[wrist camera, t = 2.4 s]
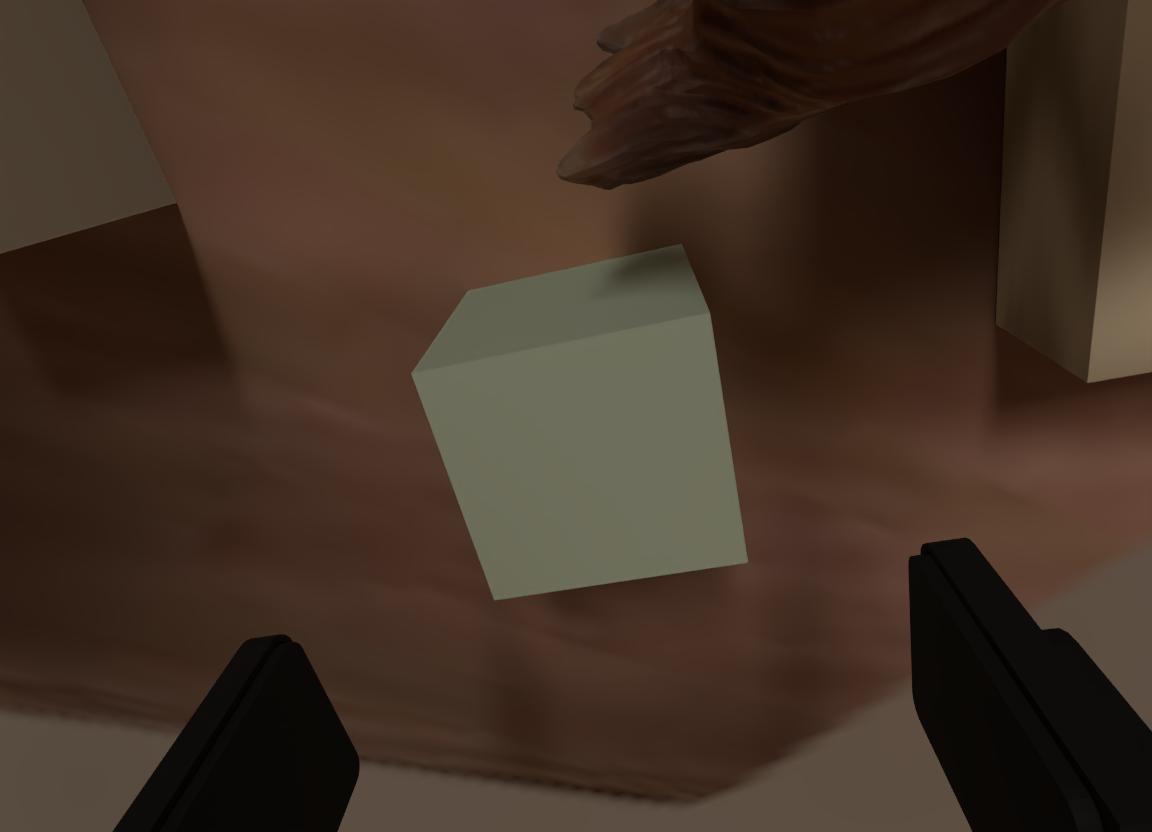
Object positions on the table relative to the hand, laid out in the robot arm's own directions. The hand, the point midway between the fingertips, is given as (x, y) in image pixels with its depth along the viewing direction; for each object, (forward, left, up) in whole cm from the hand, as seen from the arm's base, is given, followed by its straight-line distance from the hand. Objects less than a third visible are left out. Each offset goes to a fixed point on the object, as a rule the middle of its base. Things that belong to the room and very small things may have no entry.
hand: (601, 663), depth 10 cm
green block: (-1, 0, -11) cm, 11 cm away
